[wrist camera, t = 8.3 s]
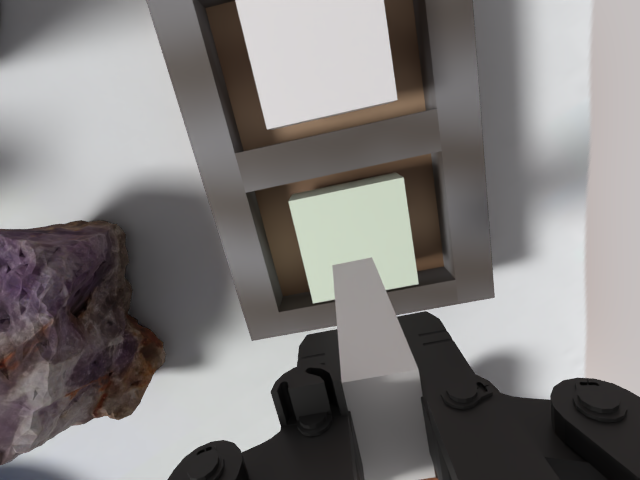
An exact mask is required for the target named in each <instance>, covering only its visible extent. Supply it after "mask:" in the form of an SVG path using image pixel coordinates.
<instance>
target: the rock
mask: <svg viewBox="0 0 640 480" xmlns="http://www.w3.org/2000/svg"><path fill="white" fill-rule="evenodd" d="M125 240H126V234H125V233H124V232H123V230H122V229H121V228H120V227H119V226H118V225H117V224H111V223H109V222H106V221H100V220H98V221H92V222H86V221H82V220H80V221H74V222H70V223H67V224H55V225H50V226H46V227H40V228H33V229H0V465H3V464H6V463H8V462H11V461H12V460H13V459H15V458H16V457H17V456H18V455H20V454H23V453H26V452H29V451H31V450H33V449H34V448H36V447H38V446H41V445H42V444H44V443H45V442H46V441H47V440H49V439H51V438H53V437H55V436H56V435H57V434H58V433H60V432H62V431H64V430H66V429H67V428H69V427H70V426H73V425H81V424H85V423H87V422H88V421H90V420H92V419H93V418H99V417H103V416H108V417H110V418H112V419H117V420H120V419H122V418H124V417H127V416H129V415H131V414H132V413H133V412H134V410H135V409H136V408H137V406H138V405H139V404H140V402H141V399H142V397H143V395H144V393H145V391H146V389H147V387H148V385H149V383H150V381H151V378H152V376H153V374H154V373H155V371H156V370H157V369H158V368H160V367H161V366H162V365H163V363H164V362H165V356H166V353H165V351H164V349H163V342H162V341H161V340H159V339H158V338H157V337H156V335H155V334H154V333H153V332H152V331H151V330H150V329H148V328H145V327H142V326H140V325H139V324H138V320H137V319H135V318H133V317H131V316H130V315H128V310H129V307H130V302H131V296H132V288H131V285H130V283H129V282H128V281H127V280H126V279H125V278H124V277H125V269H126V266H127V264H128V263H129V257H128V253H127V250H126V247H125Z"/></svg>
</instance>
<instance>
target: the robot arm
mask: <svg viewBox="0 0 640 480" xmlns="http://www.w3.org/2000/svg"><path fill="white" fill-rule="evenodd" d="M332 268H333V280H334V293H335V306H336V318H337V329H336V330H330V331H325V332H320V333H314V334H309V335H307V336H306V337H305V339H304V340H303V341H302V343H301V344H300V346H299V353H298V362H297V367H295V368H293V369H291V370H290V371H288V372H286V373H285V374H283V375H282V376H281V377H280V378H279V379H278V380H277V381H276V382H275V384H274V386H273V388H272V390H271V394H272V398H273V401H274V404H275V408H276V411H277V414H278V418H279V421H280V424H281V431H280V432H279V433H277V434H276V435H275V436H274V437H272V438H271V439H269V440H267V441H266V442H264V443H262V444H260V445H258V446H255V447H253V448H251V449H249V450H247V451H244V452H242V453H241V450H240V449H239V448H238V447H237V446H236V445H235V444H234V443H232V442H229V441H225V440H221V441H214V442H210V443H207V444H205V445H203V446H200V447H198V448H197V449H195V450H194V451H193V452H191V453H190V454H189V455H187V456H186V457H185V458H184V459H183V460H182V461H181V462H180V463H179V465H178V466H177V467H176V468H175V469H174V471H173V472H172V474H171V475H170V477H169V478H168V480H421V479H427V478H433V477H435V471H434V467H435V470H436V473H437V476H438V479H439V480H640V397H639V396H637V395H635V394H633V393H631V392H630V391H628V390H626V389H623V388H621V387H619V386H617V385H615V384H613V383H609V382H605V381H601V380H597V379H589V378H574V379H569V380H564V381H562V382H560V383H559V384H557V385H556V386H554V388H553V390H552V393H551V396H550V397H551V400H544V399H530V398H520V397H513V396H509V395H505V394H502V393H500V392H499V391H498V389H497V388H496V387H495V386H493V385H492V384H491V383H490V382H489V381H488V380H486V379H484V378H482V377H480V376H477V375H475V373H474V372H473V370H472V369H471V367H470V366H469V364H468V363H467V361H466V359H465V358H464V356H463V355H462V353H461V352H460V350H459V349H458V347H457V346H456V344H455V342H454V341H452V338H451V336H450V335H449V333H448V332H447V331H446V328H445V327H444V325H443V324H442V322H441V321H440V319H439V318H437V317H435V316H434V315H432V314H430V313H428V312H427V311H425V312H420V313H415V314H409V315H404V316H399V317H397V316H396V314H395V311H394V309H393V307H392V304H391V302H390V299H389V297H388V295H387V292H386V290H385V287H384V285H383V283H382V280H381V278H380V275H379V273H378V270H377V268H376V266H375V263H374V261H373V258H372V257H371V258H366V259H361V260H356V261H351V262H346V263H341V264H336V265H332Z"/></svg>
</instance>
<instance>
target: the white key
mask: <svg viewBox="0 0 640 480" xmlns="http://www.w3.org/2000/svg"><path fill="white" fill-rule="evenodd" d="M235 2H236V6H237V10H238V14H239V18H240V22H241V26H242V30H243V34H244V38H245V42H246V47H247V51H248V55H249V59H250V63H251V67H252V71H253V75H254V79H255V83H256V87H257V91H258V95H259V99H260V103H261V108H262V112H263V116H264V120H265V124H266V128H267V130H269V129H278V128H282V127H287V126H291V125H295V124H300V123H304V122H309V121H313V120H318V119H322V118H326V117H331V116H335V115H340V114H344V113H349V112H353V111H357V110H362V109H366V108H371V107H375V106H380V105H384V104H388V103H391V102H394V101H396V100H398V99H397V92H396V85H395V78H394V70H393V63H392V56H391V49H390V42H389V34H388V27H387V20H386V13H385V5H384V0H235Z"/></svg>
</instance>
